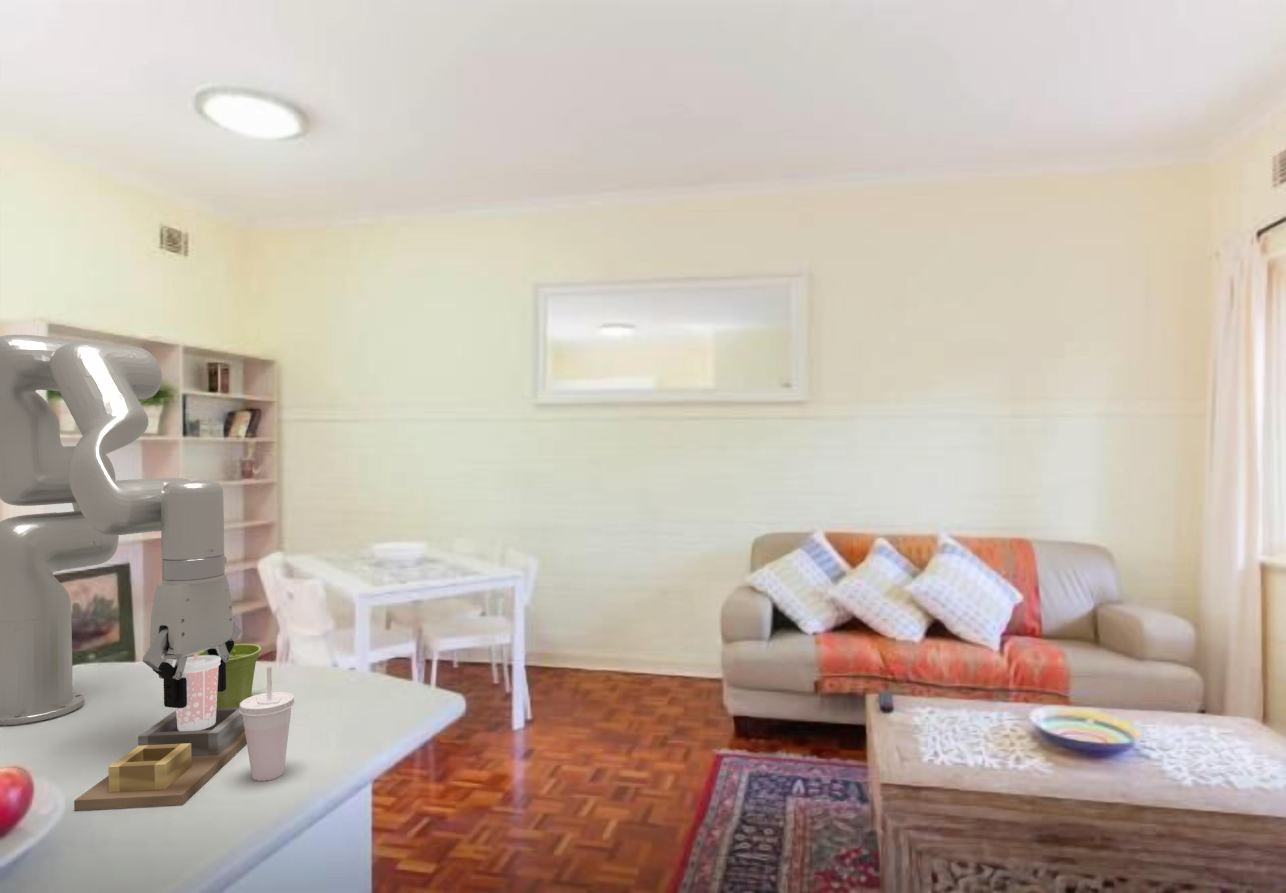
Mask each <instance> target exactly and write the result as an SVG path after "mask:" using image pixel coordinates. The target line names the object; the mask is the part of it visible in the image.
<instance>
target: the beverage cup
mask: <svg viewBox="0 0 1286 893" xmlns="http://www.w3.org/2000/svg"><path fill="white" fill-rule="evenodd" d="M220 661H221V658H220V656H216V655H201V656H198V653H196V654H193V655H192V656H188V658H187V661H186V665H185V668H184V672H183V675H182V677H183V678H186V680H187V705H186V707H184V708H175V711H176V716H177V728H178V730H179V731H195V730H203V729H206V728H209V727H211V726H213V725H214V724H215V723H216V708H217V689H218V669H219V665H220V664H221V663H220ZM175 663H176V660H173V663H172V666H173V667H175Z"/></svg>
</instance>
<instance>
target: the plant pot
mask: <svg viewBox="0 0 1286 893" xmlns="http://www.w3.org/2000/svg"><path fill="white" fill-rule="evenodd" d="M261 651H262V647H261V646H260V645H258V644H254V643H253V644H252V643H236V644H235V643H234V646H233V648H232V650H231V652H230V653H229V656H230V658H229V660H228V662H225V663H226V690H225V691H222V692H217V708H226V707H240V703H241V702H242V701H243V700H245V699H247V698H249V697H252V691H253V684H254V677H255V669H256V664H257V663H256V662H257V661H258V658H259V654H260V652H261ZM201 655H206V654H205V651H202V652H199V653H198V656H201Z"/></svg>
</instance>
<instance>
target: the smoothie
mask: <svg viewBox="0 0 1286 893" xmlns="http://www.w3.org/2000/svg"><path fill="white" fill-rule="evenodd" d="M272 673H273V671H272V666H271V665H270V666H267V667H266V693H264V692H263V693H259V694H255V695H251V697H249V698H247V699H245V700H243V701H242V702H241V703H240V710H239V712H240V714H242V715H243V722H244V728H245V735H246V741H247V744H246V746H247V753H248V759H249V767H250V771H251V772H250V773H251V774H250V775H251V779H252V778H253V779H254V781H256V780H257V782H264V781H265V782H266V780H267V781H272V780H274V779H276V778H277V779H278V778H280V777H281V776H282V775H284V773H285V767H286V766H285V765H286V758H287V748H288V739H289V731H290V724H291V723H290V722H291V715H292V714H291V713H292V708H293V707H294V705H295V696H294V695H293V694H292V693H290V692H284V691H280V692H279V691H276V692H275V691H274V692H273V687H272V686H273V682H272V681H273V680H272V677H273V676H272V675H273V674H272ZM253 779H252V780H253Z"/></svg>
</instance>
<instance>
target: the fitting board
mask: <svg viewBox="0 0 1286 893" xmlns="http://www.w3.org/2000/svg"><path fill="white" fill-rule="evenodd" d="M239 710H240V707H226V708H216V723H215V724H214V725H213V726H211V727H209V728H206V729H203V730H195V731H179V730H178V728H177V716H176V710H174V711H173V712H171V713H169V714H168V715H167V716H165V717H164V718H163V719H161V720H159V721H158V722H156V723H155V724H154V725H152V726H151V727H150V728H148V729H147V730H145V731H143V732H142V733H140V734H139V735H138V737H137V741H138V742H137V743H138V744H137V745H138V746H136V747H134V748H133V749H131V751H129V752H128V753H126V754H125V755H123V756H122V757H121V758H119V759H118V760H115V762H114V763H112V764H111V765H109V766H108V774H107V776H106V777H104V778H103V779H102V780H100V781H99V782H97V783H96V784H95V785H94V786H92V787H90V788H89V789H88V790H86V792H84V793H82V794H81V795H80V796H78V797H77V798H76V799H74V801H73V802H74V804H73V810H79V811H97V810H108V809H109V810H113V809H131V808H149V807H168V806H183V805H184V804H185V803H186V802H187V801H188V800H189V799H190V798H192V797H193V796H194V795H195V794H196V793H197V792H198V791H199V790H200V789H201V788H203V787H204V786H205V784H206V783H208V782H209V780H211V778H213V776H215V775H216V774H217V773H218V772H219V771H220V770H221V769H222V768H223V767H224V766H225V765H226V764H227V763H229V762H230V761H231V760H232V759H233V758H234V757H235V756H236V755H237V754H238V753H239V752H240V751H241V750H242V749H243V748H244V747H246V746H247V741H246V735H245V728H244V722H243V715H242V714H240V712H239ZM236 753H237V754H236ZM235 754H236V755H235ZM233 756H234V757H233ZM232 757H233V758H232ZM231 758H232V759H231Z"/></svg>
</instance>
